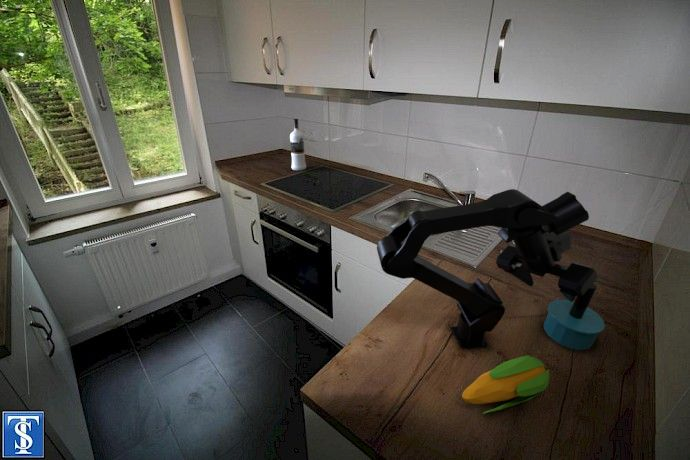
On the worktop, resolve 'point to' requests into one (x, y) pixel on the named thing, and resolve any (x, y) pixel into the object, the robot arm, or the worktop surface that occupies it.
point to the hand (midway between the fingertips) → (551, 292)
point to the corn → (509, 383)
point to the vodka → (297, 148)
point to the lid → (577, 314)
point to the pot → (567, 335)
